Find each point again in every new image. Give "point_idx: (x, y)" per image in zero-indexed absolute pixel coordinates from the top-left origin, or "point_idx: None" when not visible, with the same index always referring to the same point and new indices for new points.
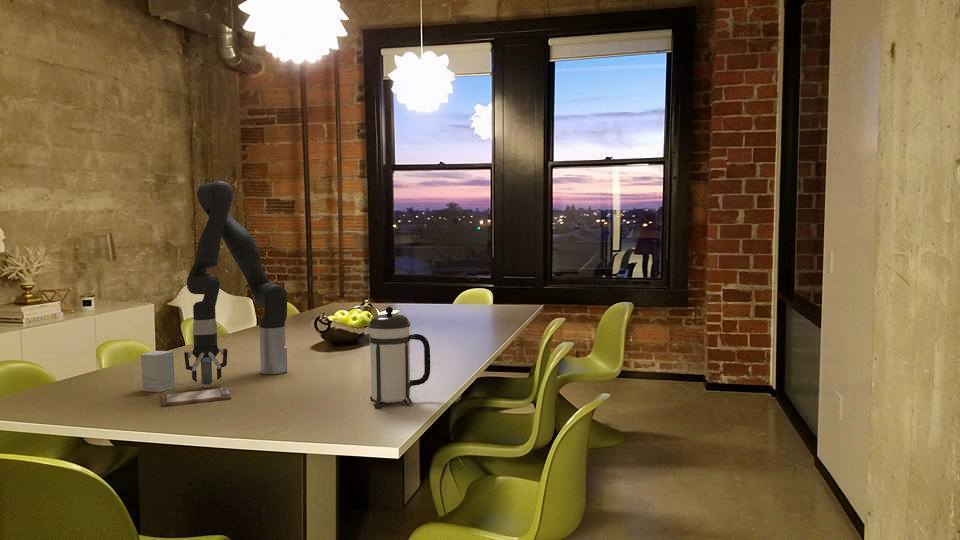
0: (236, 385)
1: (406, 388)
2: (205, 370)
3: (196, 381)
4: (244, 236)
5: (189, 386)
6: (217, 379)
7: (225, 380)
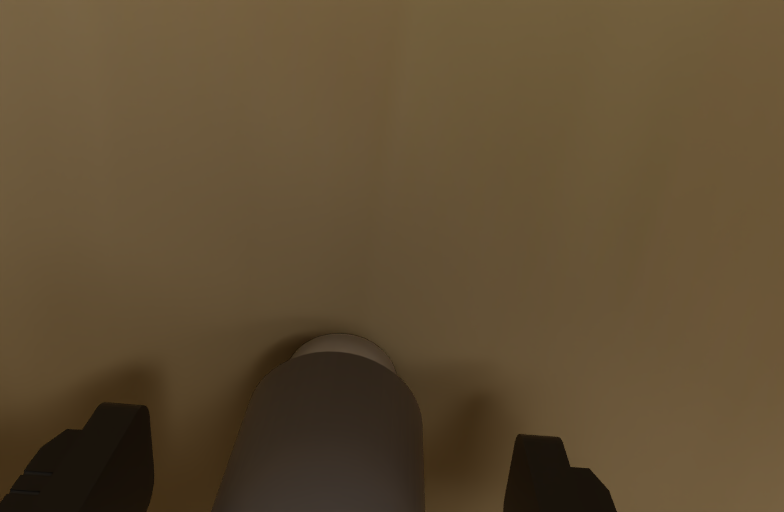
0: (746, 483)
1: None
2: None
3: (147, 489)
4: None
5: (63, 185)
6: (505, 509)
7: (746, 20)
